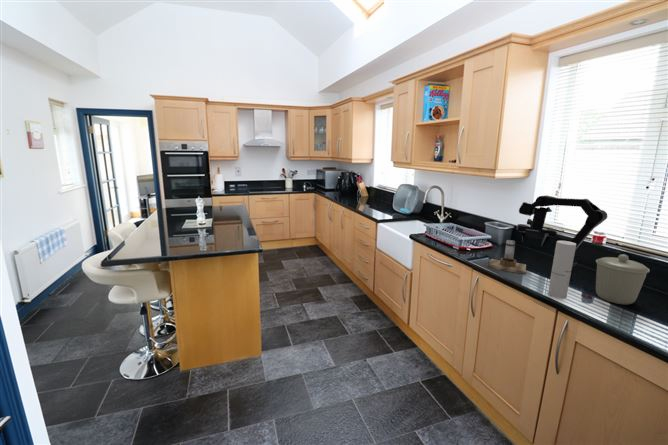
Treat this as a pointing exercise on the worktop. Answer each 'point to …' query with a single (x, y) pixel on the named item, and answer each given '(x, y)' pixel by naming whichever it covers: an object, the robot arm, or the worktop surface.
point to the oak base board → (518, 269)
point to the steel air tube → (509, 250)
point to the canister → (619, 279)
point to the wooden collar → (507, 263)
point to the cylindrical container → (561, 269)
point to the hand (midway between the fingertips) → (532, 244)
